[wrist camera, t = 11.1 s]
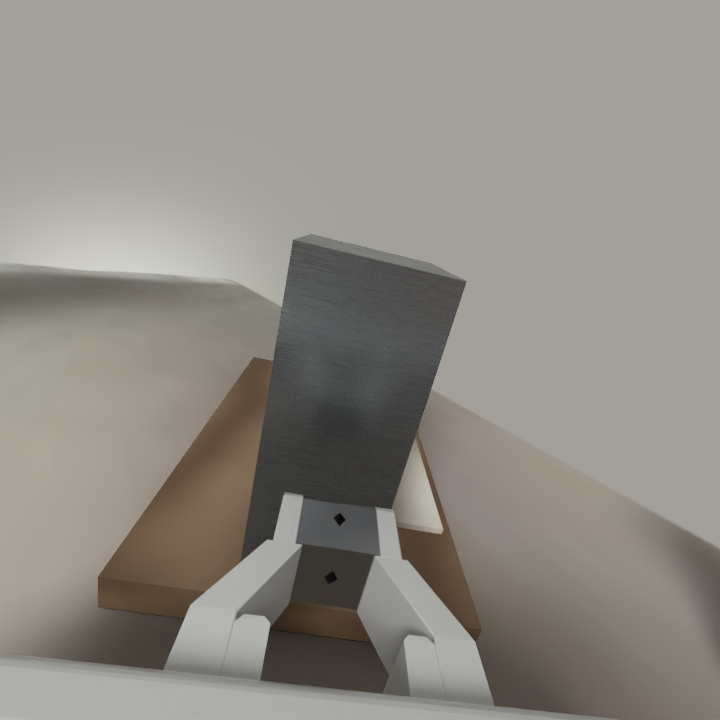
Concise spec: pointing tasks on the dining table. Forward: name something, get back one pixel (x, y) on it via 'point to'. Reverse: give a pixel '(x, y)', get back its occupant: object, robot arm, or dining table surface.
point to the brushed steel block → (348, 376)
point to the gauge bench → (229, 518)
